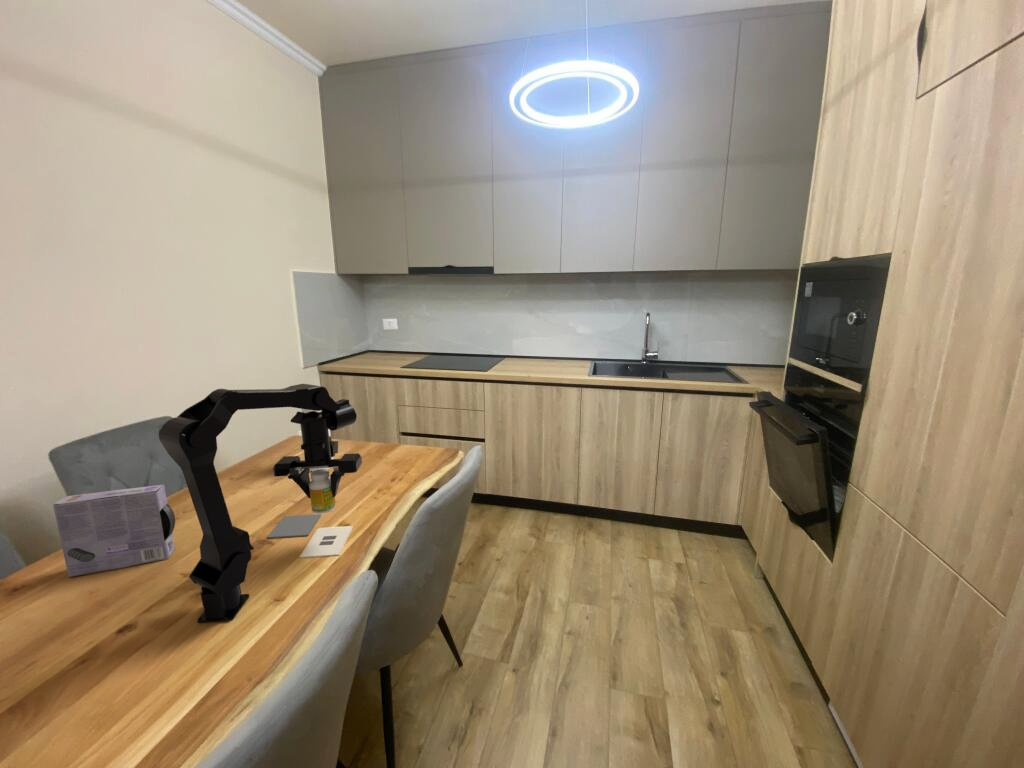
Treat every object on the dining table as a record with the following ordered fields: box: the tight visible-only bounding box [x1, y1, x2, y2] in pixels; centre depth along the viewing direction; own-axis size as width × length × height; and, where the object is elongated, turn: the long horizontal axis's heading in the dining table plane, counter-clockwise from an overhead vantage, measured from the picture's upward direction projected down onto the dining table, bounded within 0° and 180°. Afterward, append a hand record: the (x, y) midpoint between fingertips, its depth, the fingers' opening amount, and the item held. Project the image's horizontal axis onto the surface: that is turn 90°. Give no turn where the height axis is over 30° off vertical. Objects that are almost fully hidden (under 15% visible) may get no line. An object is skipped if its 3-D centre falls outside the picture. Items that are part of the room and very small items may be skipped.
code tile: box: [299, 525, 354, 559], centre depth 102 cm, size 12×9×1 cm
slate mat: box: [266, 513, 322, 540], centre depth 109 cm, size 10×10×1 cm
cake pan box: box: [52, 484, 176, 578], centre depth 93 cm, size 19×5×18 cm, turn 111°
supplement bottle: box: [309, 469, 337, 515], centre depth 99 cm, size 5×5×10 cm
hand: (322, 496), depth 99 cm, fingers closed on supplement bottle, 5 cm apart
